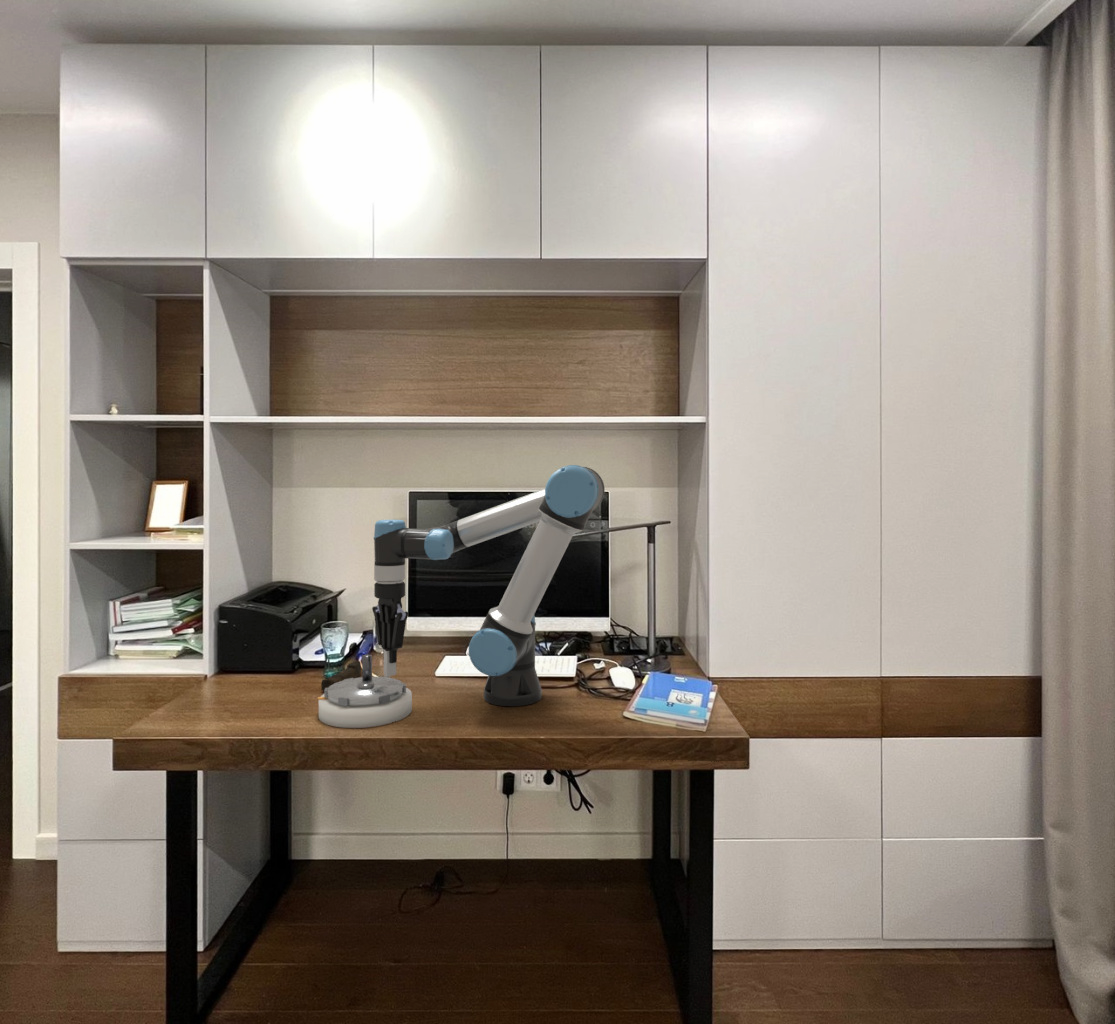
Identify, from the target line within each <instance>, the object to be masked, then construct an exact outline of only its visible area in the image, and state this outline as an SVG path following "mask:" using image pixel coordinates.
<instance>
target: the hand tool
mask: <svg viewBox="0 0 1115 1024" xmlns="http://www.w3.org/2000/svg"><path fill="white" fill-rule="evenodd" d="M361 674H362V664H361V661H360V660H355V661H353V662H351V663H348V664H347V665H346V668H345V669H343V670H341V671H340V672H338V673H336V674H333V675H332V676H330V677H328V678H325V679H322V681H321V683H320V684H321V685H320V687H321V691H322V693H324V690H325V688H328V687H329V686H331V685H333V684H335V683H337V682H340V681H343V680H344V679H349V678H360V677H361V676H360V675H361Z"/></svg>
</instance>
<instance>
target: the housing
mask: <svg viewBox="0 0 1115 1024" xmlns="http://www.w3.org/2000/svg"><path fill="white" fill-rule="evenodd" d="M412 695H413V693H412V691H411V689H409V688H408V687H406V693H403V695H402V696H401V697H400V698H398V699H396V700H394V701H391V702H388V703H384V704H380V705H373V706H362V707H349V706H340V705H336V704H333V703H331V702H329V701H328V699H327V698H324V693H323V694H322V695H320V696H318V697H317V700H318V719H319V721H320V722H322V723H323V724H325V725H329V726H332V727H336V728H344V729H346V728H347V729H361V728H362V729H363V728H372V727H379V726H384V725H388V724H393V723H396V722H398V721H401V720H403V719H405V718H407V717H408V716H409V715H410V714H411V713H412V710H413V697H412ZM395 721H396V722H395ZM392 722H393V723H392Z"/></svg>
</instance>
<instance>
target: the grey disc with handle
mask: <svg viewBox="0 0 1115 1024" xmlns="http://www.w3.org/2000/svg"><path fill="white" fill-rule="evenodd" d="M361 661H362V662H361V663H362V664H361V674H362V675H361V676H359V677H358V678H349V679H344V680H343V681H340V682H337V683H335V684H333V685H331V686H329V687H328V688H325V690H324V692H323V694H324V698H327V699H328V701H329V702H331V703H333V704H336V705H340V706H349V707H362V706H373V705H380V704H384V703H388V702H391V701H394V700H396V699H398V698H400V697H401V696H402V695H403V693H406V688H407V683H406V682H405V683H404V682H403V681H401V680H399V679H397V678H393V677H391V676H384V675H383V676H373V665H372V664H373V655H372V654H362V655H361Z"/></svg>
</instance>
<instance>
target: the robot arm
mask: <svg viewBox="0 0 1115 1024" xmlns="http://www.w3.org/2000/svg"><path fill="white" fill-rule="evenodd" d="M604 496H605V484H604V480H603V478H602V477H601V475H600V474H599V473H598V472H597V471H595V470H594V469H592V468H590V467H587V466H581V465H577V464H569V465H565V466H562V467H560V468H559V469H557V470H555V471H554V472H553V473H552V474H551V475H550V477H549V478H548V480H547V482H546V484H545V488H542V489H539V490H537V491H535V492H532V493H529V494H526V495H524V496H520V497H518V498H514V499H512V500H510V501H507V502H504V503H501V504H499V505H495V506H493V507H490V508H487V509H485V510H481V511H479V512H477V513H474V514H472V515H469V516H466V517H463V518H460V519H458V520H456V521H452V522H449V523H446V524H444V525H441V526H435V527H430V528H428V527H427V528H409V527H407V526H406V522H405V521H404V520H402V519H380V520H377V521H376V522H375V524H374V532H373V533H374V536H373V540H374V541H373V542H374V549H373V550H374V567H373V568H374V569H373V572H374V573H373V574H374V575H373V576H374V581H375V583H373V584H374V589H373V590H374V591H373V592H374V594H373V595H374V598H376V599H378V600H377V604H376V606H372V612H373V616H374V623H375V630H376V639H377V644H378V646H381V648H382V649H383V653H382V655H383V676H386V677H391V676H396V675H397V660H398V658H397V656H398V655H397V654H398V653H397V652H398V649H401V648H403V645H404V638H405V629H406V623H407V620H408V617H409V612H408V611H404V609H403V604H402V599H403V598H404V597H405V596H406V583H405V579H406V559H416V560H417V559H419V560H433V561H438V560H448V559H449V558H450V557H451V555H452V554H453V553H454V554H455V553H457V552H458V551H461V550H463V549H466V548H469V547H471V546H472V547H473V546H474V545H477V544H480V543H483V542H485V541H489V540H492V539H494V538H496V537H500V536H502V535H506V534H509V533H511V532H514V531H517V530H519V529H523V528H525V527H528V526H532V525H534V524H537V523H538V524H537V526H536V529H535V530H534V532H533V534H532V536H531V538H530V540H529V542H528V544H527V546H526V549H525V550H524V552H523V554H522V556H521V559H520V560H519V563H518V564H517V567H516V569H515V571H514V573H513V575H512V578H511V579H510V582H509V583H508V586H507V588H506V589H505V591H504V594H503V596H502V598H501V599H500V602H499V605H497V606H494V607H492V608H490V609H489V610H488V612H487V614H486V616H485V619H484V620H483V622H482V625H481V626H480V629H479V630H477V631H476V632H475V633H474V635H472V638H470V641H469V645H468V655H469V660H470V661H471V664H472V665H473V667H474V668H475V669H476V670H477V671H479V672H480V673H481V674H483V675H486V676H487V679H486V683H485V685H484V689H483V700H484V701H485V702H487V703H489V704H492V705H494V706H502V707H521V706H522V707H523V706H529V705H532V704H535V703H537V702H539V701H541V700H542V695H543V694H542V686H541V684H540V679H539V676H538V673H537V670H536V625H537V624H536V623H537V621H536V616H535V614H536V611H537V610H538V607H539V605H540V603H541V601H542V599H543V597H544V595H545V593H546V591H547V589H548V587H549V585H550V583H551V581H552V579H553V577H554V575H555V573H556V571H557V569H558V567H559V565H560V562H561V560H562V558H563V556H564V554H565V553H566V550H567V548H568V547H569V544H570V543H571V540H572V538H573V537H574V535H575V534H577V533H581V532H582V531H584V528H585V527H586V524H587V522H588V520H589V518H590V517H591V514H593V513H592V512H593V511H595V510H596V509H597V508H598V507H599V506H600V504H601V503H602V502H603V499H604Z"/></svg>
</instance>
